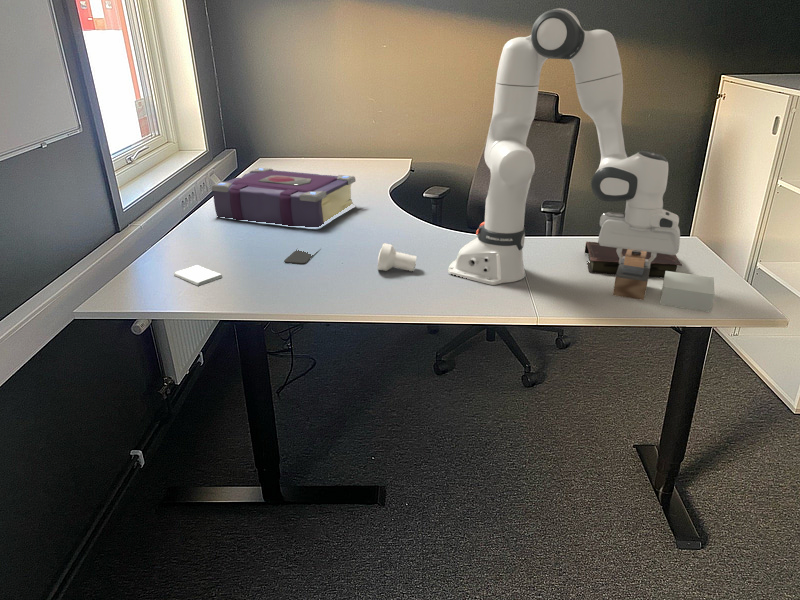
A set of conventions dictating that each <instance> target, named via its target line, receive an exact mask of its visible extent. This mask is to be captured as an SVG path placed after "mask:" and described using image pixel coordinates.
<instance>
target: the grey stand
mask: <svg viewBox="0 0 800 600" xmlns="http://www.w3.org/2000/svg"><path fill="white" fill-rule="evenodd" d="M662 282H663V283H662V287H661V288H662V289H661V293H660V301H659V302H660V303H659V304H660V305H663V306H667V307H675V308H680V309H681V308H682V309H686V310H693V311H700V312H705V313H706V312H708V313H711V312H712V308H713V303H714V299H715V291H716V290H715V277H714V276H713V277H712V276H708V275H707V276H706V275H699V274H691V273H684V272H677V271H676V272H671V271H665V276H664V278H663V281H662Z"/></svg>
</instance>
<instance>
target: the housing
mask: <svg viewBox="0 0 800 600" xmlns="http://www.w3.org/2000/svg"><path fill="white" fill-rule="evenodd" d="M646 254H647V252H645V251H637V250H630V249H627V252H626V255H625V260H624V266H623V273H622V274H628V275H635V276H642V275H643V271H644V264H645V259H646Z"/></svg>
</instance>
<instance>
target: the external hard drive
mask: <svg viewBox="0 0 800 600" xmlns="http://www.w3.org/2000/svg"><path fill="white" fill-rule="evenodd" d="M173 276H175V277H177V278H179V279H182V280H184V281H186V282H189V283H191V284H193V285H195V286H197V287H199V286H202V285H205V284H208V283H210V282H213V281H216V280H219V279H222V278H223V274H221V273H219V272H217V271H213V270H211V269H209V268H206V267H203V266H201V265H199V264H195V265H193V266H190V267H187V268H183V269H180V270H177V271H175V272H174V273H173Z"/></svg>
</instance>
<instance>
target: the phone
mask: <svg viewBox="0 0 800 600" xmlns="http://www.w3.org/2000/svg"><path fill="white" fill-rule="evenodd" d="M295 250H296V251H295ZM295 250H294V251H293V252H292V253H291V254H290V255H289V256H287V257H286V258H285V259H284V261H283V263H284V262H285V263H284V264H289V263H292V264H293V265H307V263H309V262H310V261H311V260H310V258H311V257H312V256H313V255H312V256H311V254H308V252H307V253H306V252H304V251H303V252H302V251H299V250H298V251H297V249H295ZM309 260H310V261H309ZM308 261H309V262H308ZM292 264H291V265H292Z"/></svg>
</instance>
